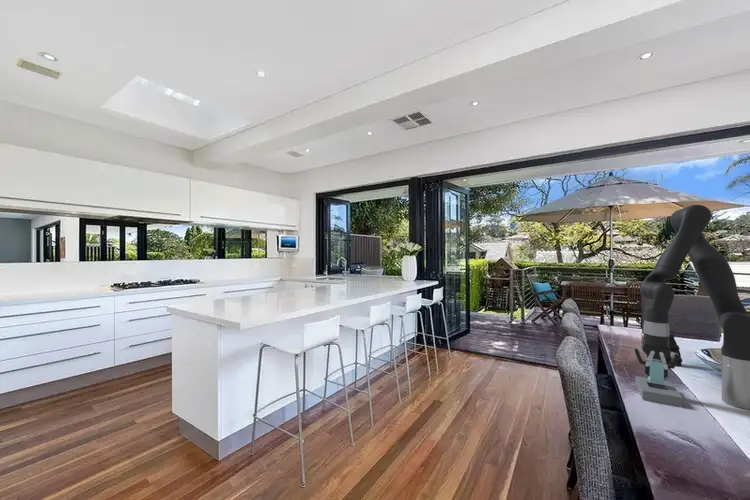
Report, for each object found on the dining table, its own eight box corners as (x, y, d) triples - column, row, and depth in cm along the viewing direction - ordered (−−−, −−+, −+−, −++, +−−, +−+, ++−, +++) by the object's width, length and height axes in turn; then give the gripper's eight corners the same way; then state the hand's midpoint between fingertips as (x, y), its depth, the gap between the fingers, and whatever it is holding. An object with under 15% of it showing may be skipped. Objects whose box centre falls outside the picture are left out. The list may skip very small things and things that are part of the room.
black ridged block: (691, 365, 149) (672, 334, 153) (657, 371, 156) (640, 341, 160) (690, 363, 152) (671, 332, 156) (657, 369, 159) (640, 340, 163)
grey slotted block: (635, 384, 132) (635, 376, 132) (670, 390, 127) (670, 381, 127) (642, 399, 119) (642, 390, 119) (682, 407, 113) (682, 397, 113)
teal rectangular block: (661, 380, 124) (661, 360, 124) (663, 384, 120) (663, 363, 120) (648, 378, 126) (648, 358, 126) (650, 381, 123) (650, 361, 123)
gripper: (678, 333, 122) (678, 377, 123) (631, 328, 130) (631, 369, 130) (683, 338, 116) (683, 384, 116) (634, 332, 124) (633, 376, 124)
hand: (655, 376), depth 123 cm, fingers closed on teal rectangular block, 4 cm apart
